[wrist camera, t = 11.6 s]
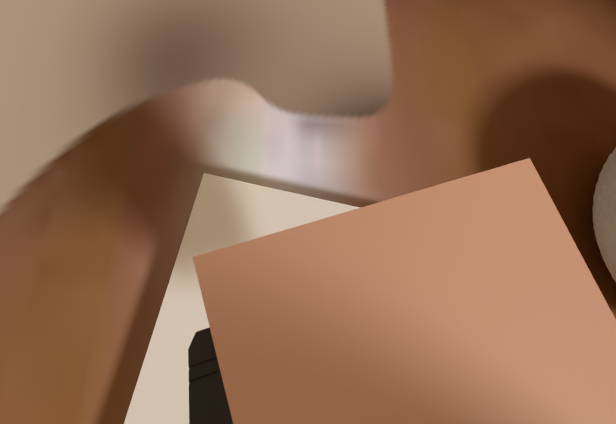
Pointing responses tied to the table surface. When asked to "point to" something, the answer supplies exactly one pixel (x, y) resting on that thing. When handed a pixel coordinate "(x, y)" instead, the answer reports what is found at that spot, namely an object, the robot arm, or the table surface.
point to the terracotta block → (416, 313)
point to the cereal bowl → (606, 213)
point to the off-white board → (186, 291)
